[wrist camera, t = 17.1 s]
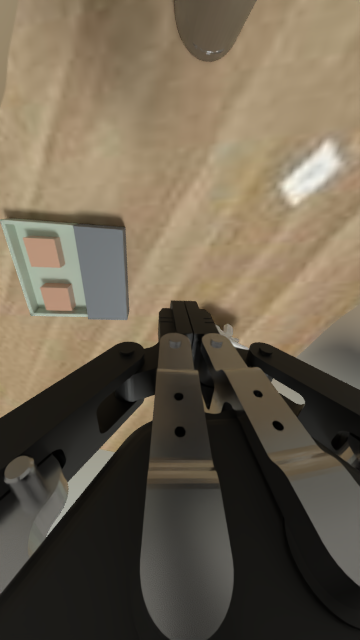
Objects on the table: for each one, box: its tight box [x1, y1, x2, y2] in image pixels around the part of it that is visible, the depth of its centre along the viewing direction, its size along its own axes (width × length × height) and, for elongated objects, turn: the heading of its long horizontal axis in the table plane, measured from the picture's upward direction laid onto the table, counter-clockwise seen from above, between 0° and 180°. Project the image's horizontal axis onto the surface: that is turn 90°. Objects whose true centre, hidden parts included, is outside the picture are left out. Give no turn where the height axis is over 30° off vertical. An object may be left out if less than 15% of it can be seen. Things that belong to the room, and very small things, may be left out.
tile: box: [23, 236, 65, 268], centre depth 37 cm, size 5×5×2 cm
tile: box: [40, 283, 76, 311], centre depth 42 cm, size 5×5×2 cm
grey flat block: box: [73, 224, 129, 320], centre depth 40 cm, size 18×8×4 cm, turn 175°
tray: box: [0, 218, 88, 317], centre depth 39 cm, size 18×11×3 cm, turn 175°
